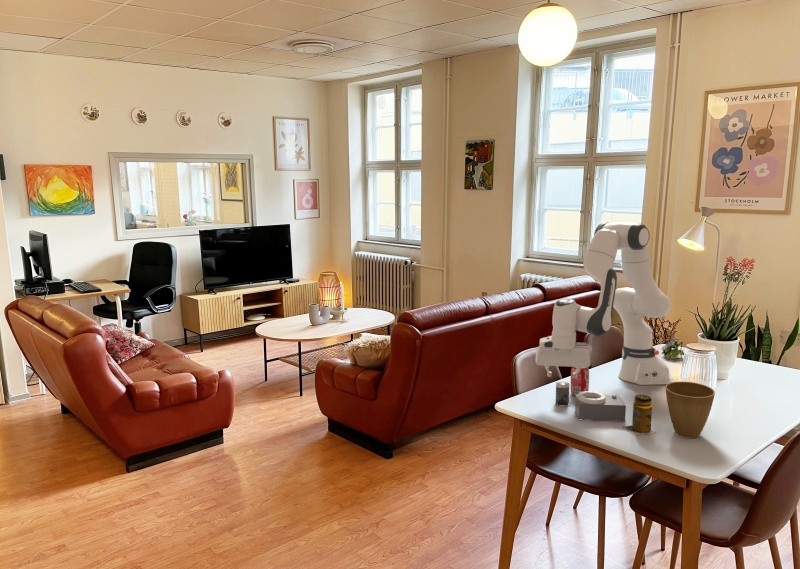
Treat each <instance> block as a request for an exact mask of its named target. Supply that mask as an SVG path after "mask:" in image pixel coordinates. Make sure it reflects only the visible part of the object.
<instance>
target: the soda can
mask: <svg viewBox="0 0 800 569" xmlns="http://www.w3.org/2000/svg"><path fill="white" fill-rule="evenodd" d="M576 370H577V369H576V367H571V369H570V386H569V389H570V393H571V394H572V395H573V396H575V394H579V393H580V392H584V391H590V390H589V388H590V387H589V386H590V370H589V367H581V370H580V371H579V373H578V374H577V378H573V372H575V371H576Z"/></svg>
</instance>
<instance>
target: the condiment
mask: <svg viewBox="0 0 800 569" xmlns="http://www.w3.org/2000/svg"><path fill="white" fill-rule="evenodd" d="M632 405H633V406H632V419H631V420H632V422H631V425H622V426H621V427H622V428H623V429H624V430H626V431H627V432H629V433H630V434H631V435H633V436H638V435H639V436H640V435H649V434H650V435H651V434H656V433H657V432H656V431H655V430H653V429H652V418H653V417H652V416H653V415H652V414H653V405H652V397H651V396H650V395H647V394H636V395H635V396H634V402H633V404H632Z"/></svg>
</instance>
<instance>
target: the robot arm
mask: <svg viewBox="0 0 800 569" xmlns="http://www.w3.org/2000/svg"><path fill="white" fill-rule="evenodd" d="M593 234H594V235H593V237H592V238H591V240H590V243H589V245H588V247H587V250H586V252H585V254H584V255H585V256H584V258H583V269H584V270H585V272H586V273H587V275H589V276H590V277H591V278H593V279H594V280H595V281H597V282H598V283H599V284H600V292H599V298H598V304H597V306H596V307H595V308H593V307H589V306H583V305H580V304H578V303H576V300H575V299H572V298H561V299H559V300H556V301H555V302H554V306H553V311H552V327H553V328H552V332H551V335H548V336H546V337H545V336H544V337H541V338H540V339H539V345H538V346H537V349H536V353H535V364H536V365H537V366H544V369H545V370H546V372H547V373H546V374H547V377H548V378H552V376H553V375H552V374H553V373H552V371H550V370H549V369H550V367H568V368H569V367H571V368H572V367H576V369H577V370H576V371H575V372H573V378H577V374H578V373H579V371H580V370H581V367H588V368H589V367H590V366H591V360H592V359H591V353H592V352H593V351H592V349H593V348H592V345H591V344H589V343H588V342H581V341H580V342H576V341H577V333H576V332H577V331H578V332H582V333H585V334H586V333H587V334H590V335H592V336H596V337H602V336H604V335H606V334H608V332H610V330H611V329H612V328H611V327H612V323H613V309H614V310H615V311H616V312H617V313H618V315H619V318H620V319H621V322H622V325H623V345H622V348H621V358H622V360H621V361H622V362H621V366H620V370H619V373H618V378H619V379H620V380H623V381H626V382H629V383H633V384H636V385H639V386H640V385H641V386H651V385H653V386H654V385H667V384H669V383H672V382H676V378H675V377H674V376H673V375H672V374H670V369H669V367H668V365H667V364H666V363H665V362H664V361H663V360H662V359H661V358H660V357H658V355H660V350H658V349H656V348H655V347H653V345H652V343H653V329H652V328H651V326H650V325H649V324H647V322H646V321H645V320H644V317H645V318H665V316H667V314H668V313H669V312H670V308H671V301H670V298H669V297H668V295H666V294H665V293H664V292H663V291H662V290H661V289H660V288H659V286H658V284H657V282H656V281H655V278H654V276H653V272H652V264H651V256H650V255H651V254H650V249H649V248H650V247H649V244H648V243H649V240H650V231H649V229H648V227H647V226H646V225H645V224H643V223H639V222H630V221H620V222H619V221H618V222H617V221H616V222H615V221H613V222H608V221H607V222H602V223H600V224H598V225H597V227H596V228H595V230H594V232H593ZM618 250H620V251H621V257H620V258H621V268H622V276H623V279H624V280H625V281H626V282H627V283H628V284H629V285H630V286H631V287H618V288H617V284H618V283H617V281H618V276H617V272H616V270H614V263H615V260H616V257H617V253H618Z"/></svg>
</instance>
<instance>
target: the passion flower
mask: <svg viewBox="0 0 800 569" xmlns="http://www.w3.org/2000/svg"><path fill="white" fill-rule="evenodd" d="M679 340H680V338H679V337H677V338H674V339H673V340H671V341H670V337H669V338H666V339H664V340H663V341H662V344H665V343H666V344H665V345H663V346H662V347H661V351H662V352H661V354H660V355H664V356H666V359H667V360H668V361H669V359H670V360H672V359H674V358H675V359H676V358H678V357H679V356H680V357H681V360H682V359H683V358H682V357H683V356H684V353H685V352H684V351H685V349H683V348H682V347H683V341H682V340H680V341H679ZM678 341H679V342H678ZM679 347H680V349H679Z"/></svg>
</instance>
